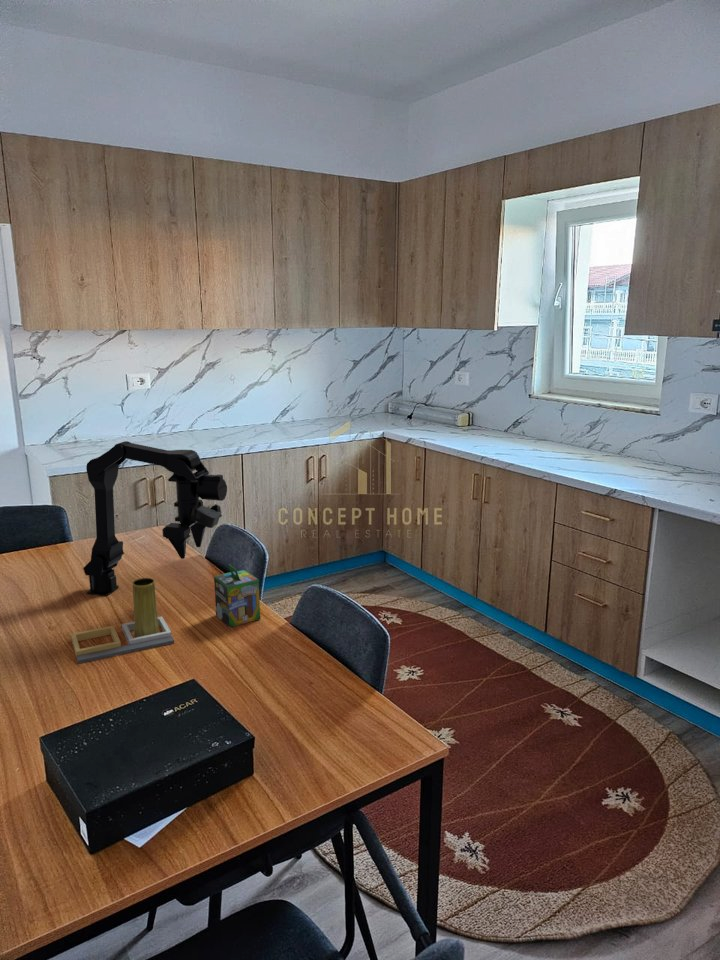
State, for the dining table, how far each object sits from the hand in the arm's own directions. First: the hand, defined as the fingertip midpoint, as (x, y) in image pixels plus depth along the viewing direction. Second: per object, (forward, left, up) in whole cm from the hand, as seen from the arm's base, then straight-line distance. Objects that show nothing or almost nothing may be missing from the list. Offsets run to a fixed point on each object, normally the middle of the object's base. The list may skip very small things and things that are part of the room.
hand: (190, 552), depth 187 cm
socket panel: (-6, -26, -15) cm, 30 cm away
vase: (-2, -21, -15) cm, 26 cm away
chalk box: (+16, -6, -15) cm, 22 cm away
